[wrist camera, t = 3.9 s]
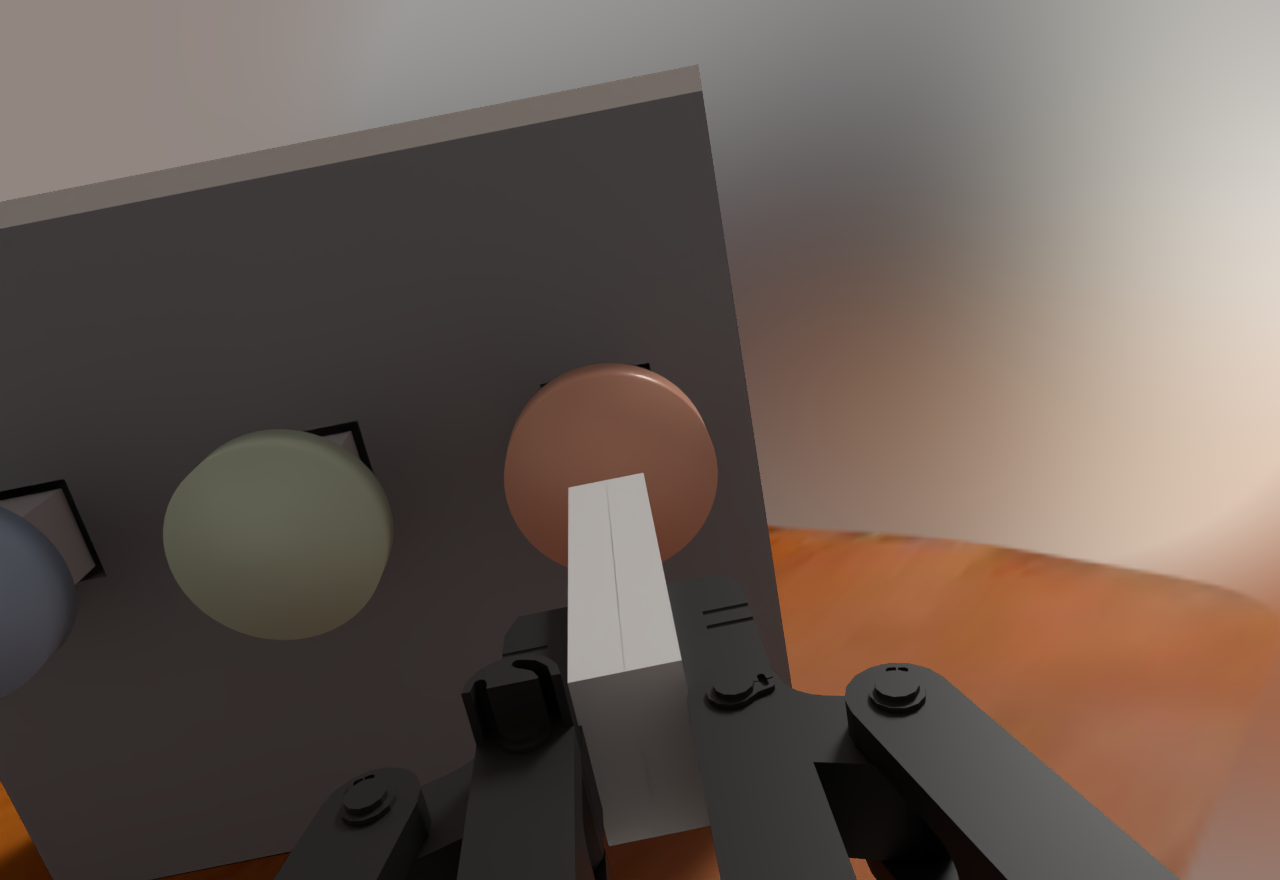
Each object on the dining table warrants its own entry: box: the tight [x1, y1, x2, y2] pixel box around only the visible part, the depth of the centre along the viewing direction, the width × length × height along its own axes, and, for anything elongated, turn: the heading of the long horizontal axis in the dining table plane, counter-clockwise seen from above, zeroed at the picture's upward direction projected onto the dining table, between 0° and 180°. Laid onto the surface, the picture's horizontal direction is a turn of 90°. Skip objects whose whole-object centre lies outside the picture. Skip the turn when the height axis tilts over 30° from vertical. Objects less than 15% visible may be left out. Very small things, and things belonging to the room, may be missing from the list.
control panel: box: [0, 65, 792, 880], centre depth 29 cm, size 6×24×21 cm, turn 94°
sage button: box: [163, 429, 394, 640], centre depth 23 cm, size 4×5×5 cm
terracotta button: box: [504, 363, 718, 568], centre depth 23 cm, size 4×5×5 cm
